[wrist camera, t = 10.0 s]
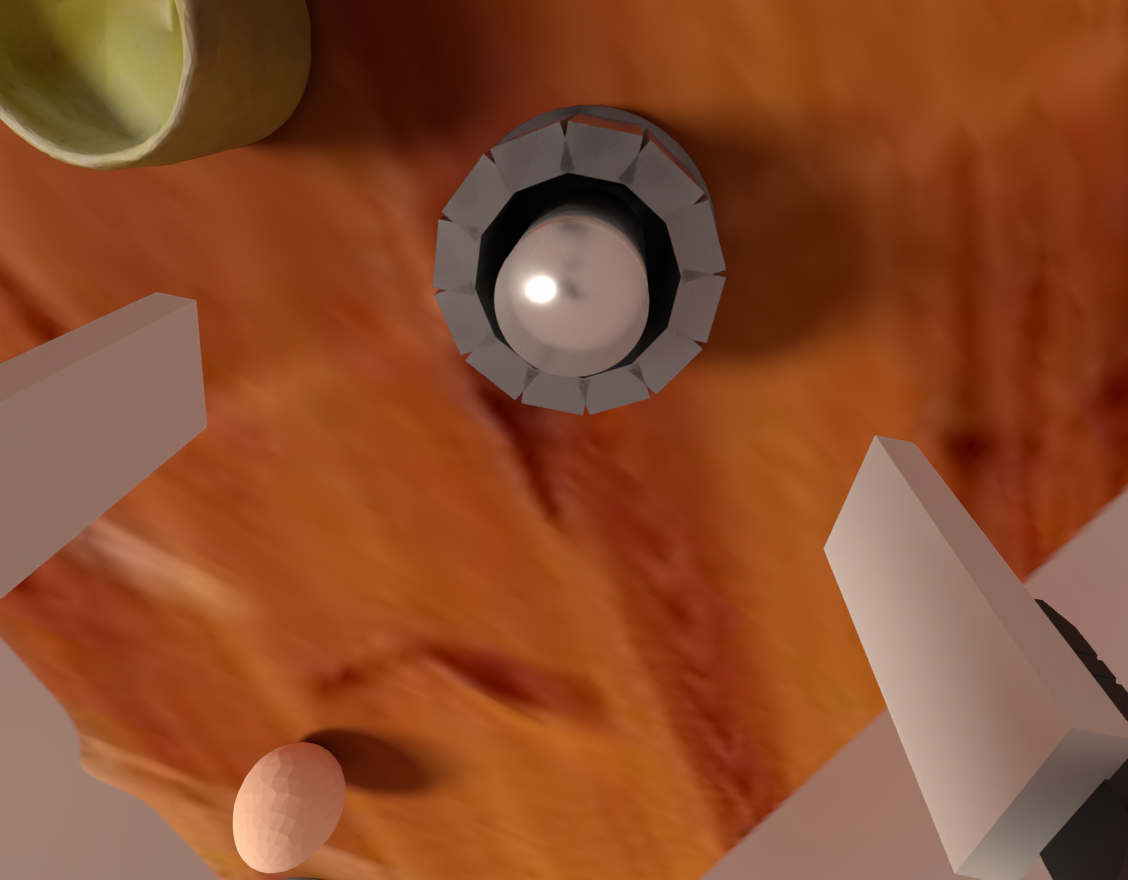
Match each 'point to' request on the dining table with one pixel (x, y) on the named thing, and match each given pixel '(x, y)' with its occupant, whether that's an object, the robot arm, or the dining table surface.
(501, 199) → the ring
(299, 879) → the grey cup
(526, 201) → the piston post
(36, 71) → the mug
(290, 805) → the egg
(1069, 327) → the dining table surface
